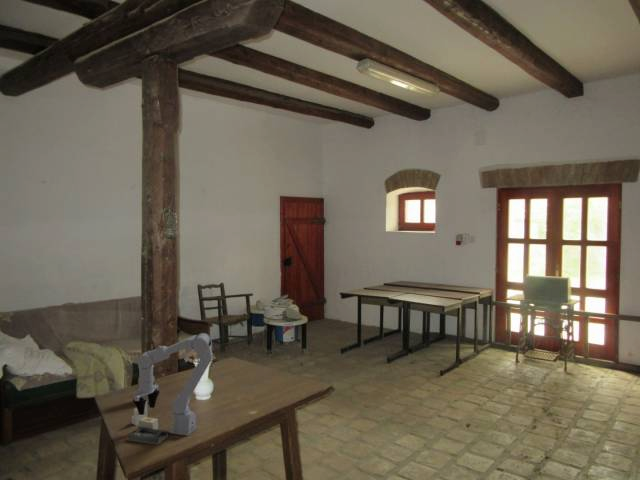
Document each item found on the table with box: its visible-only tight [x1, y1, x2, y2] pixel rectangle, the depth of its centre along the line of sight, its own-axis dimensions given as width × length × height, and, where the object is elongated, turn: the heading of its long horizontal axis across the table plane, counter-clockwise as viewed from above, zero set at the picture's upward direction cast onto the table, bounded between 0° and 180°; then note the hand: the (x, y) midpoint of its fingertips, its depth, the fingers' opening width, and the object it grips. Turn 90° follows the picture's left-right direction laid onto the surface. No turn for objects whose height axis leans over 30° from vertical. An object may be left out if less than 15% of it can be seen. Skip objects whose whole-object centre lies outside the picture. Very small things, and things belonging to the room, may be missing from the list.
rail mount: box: [126, 426, 169, 446], centre depth 203 cm, size 15×7×3 cm, turn 74°
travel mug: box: [137, 364, 156, 405], centre depth 243 cm, size 8×8×18 cm
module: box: [138, 416, 159, 429], centre depth 211 cm, size 7×4×5 cm, turn 74°
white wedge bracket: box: [131, 399, 148, 426], centre depth 219 cm, size 4×10×9 cm
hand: (146, 410), depth 209 cm, fingers open, 7 cm apart
